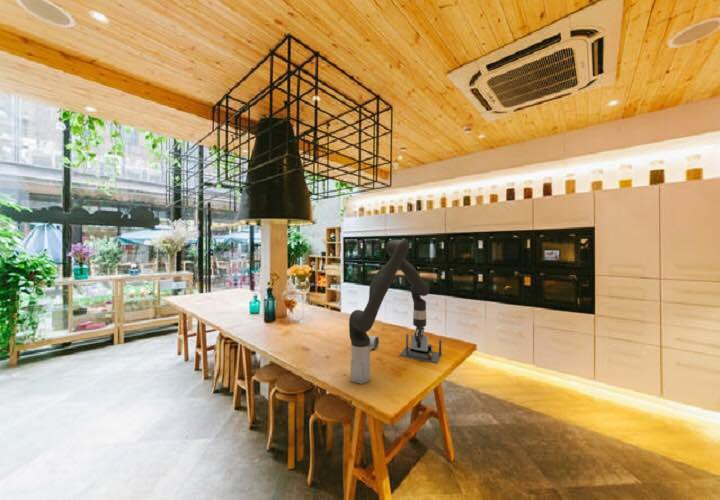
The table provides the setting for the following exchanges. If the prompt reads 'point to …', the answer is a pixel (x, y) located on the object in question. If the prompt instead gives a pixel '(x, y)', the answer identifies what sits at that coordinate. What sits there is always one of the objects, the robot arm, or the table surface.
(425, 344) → the grey rectangular block
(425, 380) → the table surface
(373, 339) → the ceramic mug
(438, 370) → the table surface
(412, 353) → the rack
